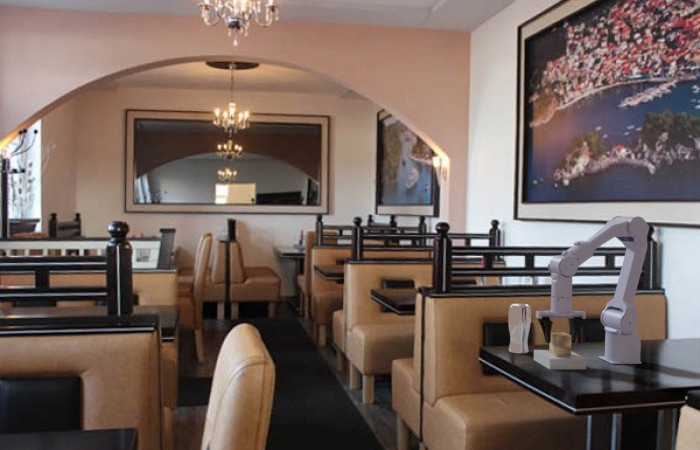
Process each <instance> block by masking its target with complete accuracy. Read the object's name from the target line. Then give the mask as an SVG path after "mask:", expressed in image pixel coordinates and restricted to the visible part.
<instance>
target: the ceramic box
mask: <svg viewBox="0 0 700 450" xmlns="http://www.w3.org/2000/svg"><path fill="white" fill-rule="evenodd" d="M533 361H535V362H536V363H539V364H540V365H542V366H543V367H544V368H547V369H548V370H586V369H587V362H588V361H587V358H586V357H584V356H583V355H580V354H578V353H576V352H574V351H572V350H571V356H555V355H553V354H551V353H549V349H533Z"/></svg>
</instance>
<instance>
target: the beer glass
mask: <svg viewBox="0 0 700 450" xmlns="http://www.w3.org/2000/svg"><path fill="white" fill-rule="evenodd" d="M531 311H532V310H531V304H528V303H520V302H518V303H516V302H514V303H513V302H512V303H509V307H508V314H507V316H508V317H507V319H508V320H507V321H508V331H509V336H510V337H509V339H510V340H509V346H508V351H509V353H514V354H520V355H521V354H522V355H523V354H524V355H525V354H529V346H528V338H529V334H530V333H529V332H530V328H531V323H532V312H531Z"/></svg>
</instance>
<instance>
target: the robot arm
mask: <svg viewBox="0 0 700 450" xmlns="http://www.w3.org/2000/svg"><path fill="white" fill-rule="evenodd" d="M649 230H650V226H649V225H648V223H647V221H646V220H645V219H644V218H643V217H641V216H622V215H617V216H616V215H615V216H614V217H612V218H611V219H610V220H608V221H606V224H605V225H604V226H602V227H601V228H600V229H599V230H598V231H597V232H595V233H594V234H593V235H592V236H591V237H589V238H588V239H587V240H586V241H584V240H578V241H577V240H576V241H574V242H573V245H572V246H571V247H569V248H568V249H566V250H563V251H562V252H561V254H560V255H555V256H553V257H552V258H551V259H550V261H549V263H548V264H547V268H548V271H549V273H550V278H551V293H550V298H551V299H550V309H548V310H535V318H537V321H538V322H539V325H540V327H541V330H542V332H543V336H544V337H543V338H544V343H546V344H549V343H550V341H551V333H552V327H553V323H554V321H552V320H551V319H568V325H569V335H571V344H575V343H576V341H577V338H578V337H577V336H578V334H579V332H580V329H581V328H582V326H583V325H584V323H585V320H586V319H587V312H586V311H583V310H572V306H573V305H572V302H573V301H572V299H573V275H576V273H577V271H578V268H579V267H580V266H581V265H582V264H584V263H585V262H587V261H588V260H589V259H591V258H592V257H594V252H595V250H597V249H598V248H600V247H601V246H603V245H604V244H606V243H607V242H609V241H610V240H612V239H614V238H616V239H617V240H618V241H619V242H621V243H622V245H623V246H624V248H625V253H624V257H623V261H622V265H621V270H620V273H619V276H618V280H617V284H616V288H615V292H614V296H613V298H612V299H610V300H609V301H607V302H606V305H605V308H604V309H603V310H602V312H601V314H600V323H601V324H602V326H603V327H604V328H603V329H604V330H605V336H604V337H605V339H604V355H599V356H598V358H599V359H601V360H603V361H606V363H610V364H612V365H628V364H629V365H632V364H633V365H637V364H638V365H639V364H642V361H641V350H642V349H641V347H642V342H641V337H640V335H639V334H638V333H637V332H635V331H636V330H637V328H638V325H639V319H638V313H639V310H638V308H637V307H636V305H635V303H634V300H635V297H636V293H637V289H638V285H639V282H640V277H641V273H642V270H643V265H644V262H645V258H646V254H647V251H648V235H649Z"/></svg>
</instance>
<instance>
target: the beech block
mask: <svg viewBox="0 0 700 450" xmlns="http://www.w3.org/2000/svg"><path fill="white" fill-rule="evenodd" d="M569 334H570V333H569ZM569 334H568V333H566V332H563V331H562V332H551V341H550V343H548V344H549V347H548V348H549V349H548V350H549V353H551V354H553V355H555V356H571V351H572V343H571V335H569Z"/></svg>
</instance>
